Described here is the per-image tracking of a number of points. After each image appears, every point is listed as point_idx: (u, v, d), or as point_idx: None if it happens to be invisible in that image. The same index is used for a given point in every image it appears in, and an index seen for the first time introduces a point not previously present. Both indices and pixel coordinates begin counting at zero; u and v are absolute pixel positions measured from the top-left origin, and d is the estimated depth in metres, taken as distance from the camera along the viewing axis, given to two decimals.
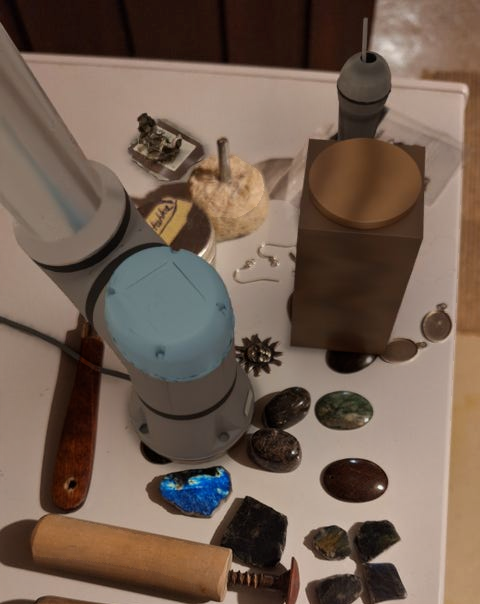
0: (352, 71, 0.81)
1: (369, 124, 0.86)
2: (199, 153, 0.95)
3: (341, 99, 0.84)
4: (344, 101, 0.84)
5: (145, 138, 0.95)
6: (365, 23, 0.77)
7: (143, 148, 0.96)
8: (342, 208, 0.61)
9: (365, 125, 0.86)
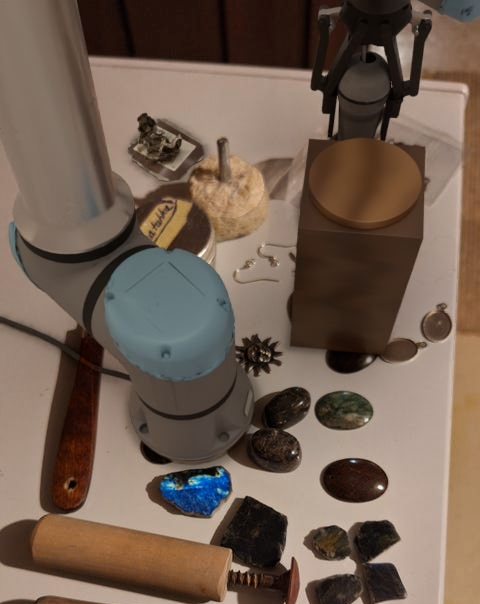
0: (352, 71, 0.81)
1: (369, 124, 0.86)
2: (199, 153, 0.95)
3: (341, 99, 0.84)
4: (344, 101, 0.84)
5: (145, 138, 0.95)
6: None
7: (143, 148, 0.96)
8: (342, 208, 0.61)
9: (365, 125, 0.86)
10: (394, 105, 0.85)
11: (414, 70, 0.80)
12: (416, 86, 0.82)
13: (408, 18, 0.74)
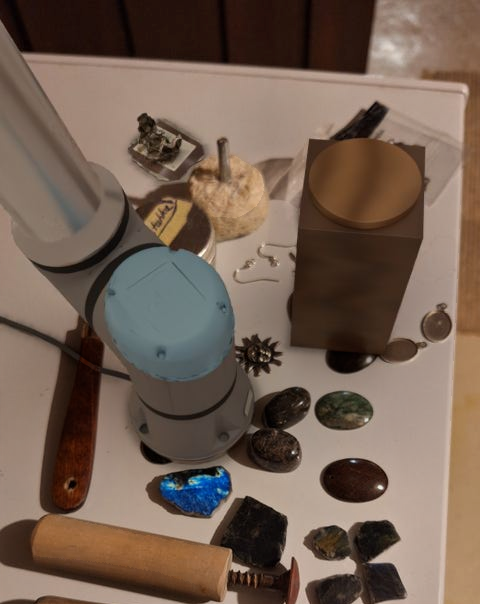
0: None
1: None
2: (199, 153, 0.95)
3: None
4: None
5: (145, 138, 0.95)
6: None
7: (143, 148, 0.96)
8: (342, 208, 0.61)
9: None
10: None
11: None
12: None
13: None
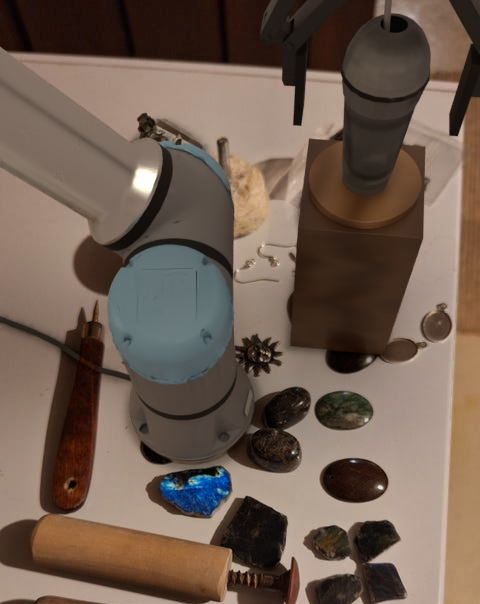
0: (367, 46, 0.49)
1: (392, 133, 0.54)
2: None
3: (348, 93, 0.52)
4: (353, 97, 0.52)
5: None
6: None
7: None
8: (342, 208, 0.61)
9: (386, 135, 0.54)
10: None
11: None
12: None
13: None
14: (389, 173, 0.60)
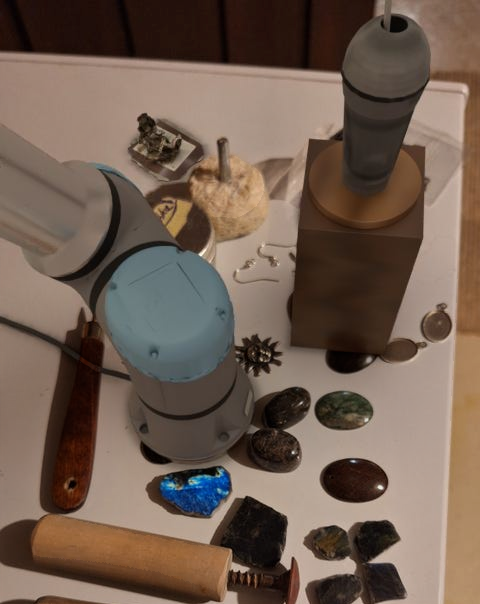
0: (367, 46, 0.49)
1: (392, 133, 0.54)
2: (199, 153, 0.95)
3: (348, 93, 0.52)
4: (353, 97, 0.52)
5: (145, 138, 0.95)
6: None
7: (143, 148, 0.96)
8: (342, 208, 0.61)
9: (386, 135, 0.54)
10: None
11: None
12: None
13: None
14: (389, 173, 0.60)
